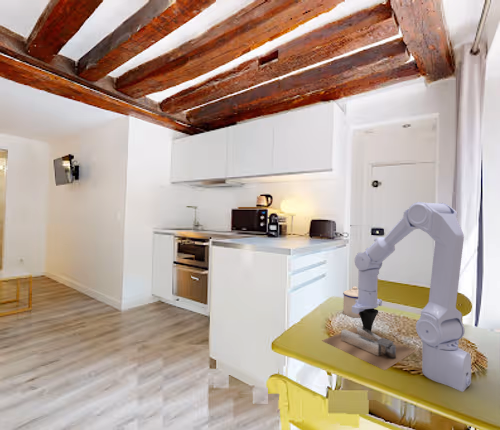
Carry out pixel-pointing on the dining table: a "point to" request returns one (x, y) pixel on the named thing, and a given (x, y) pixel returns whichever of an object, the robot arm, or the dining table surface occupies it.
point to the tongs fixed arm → (365, 342)
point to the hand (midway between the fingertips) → (367, 331)
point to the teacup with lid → (350, 302)
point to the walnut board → (369, 357)
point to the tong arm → (364, 332)
